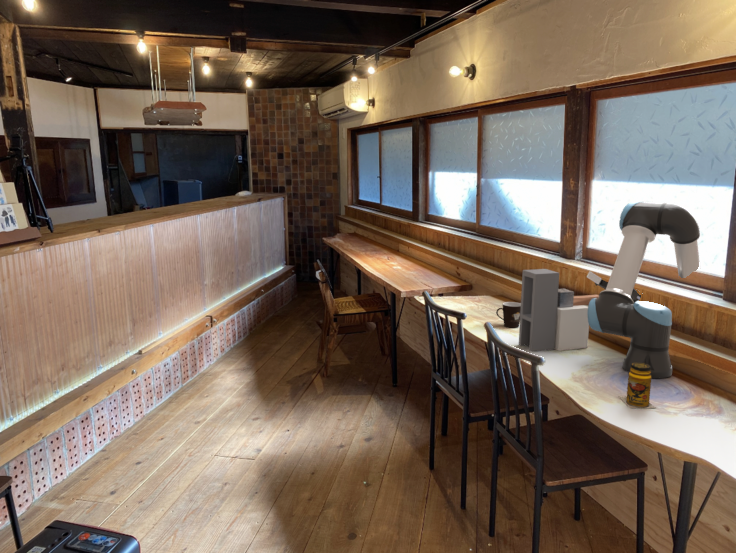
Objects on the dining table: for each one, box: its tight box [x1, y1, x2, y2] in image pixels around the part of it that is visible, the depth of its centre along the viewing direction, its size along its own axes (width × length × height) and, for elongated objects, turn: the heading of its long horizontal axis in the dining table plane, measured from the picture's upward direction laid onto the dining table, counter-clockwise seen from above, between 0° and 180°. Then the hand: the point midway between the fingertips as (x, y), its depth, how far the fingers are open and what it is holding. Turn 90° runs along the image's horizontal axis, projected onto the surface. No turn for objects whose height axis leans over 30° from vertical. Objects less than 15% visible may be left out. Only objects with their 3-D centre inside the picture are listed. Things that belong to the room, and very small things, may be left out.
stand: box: [518, 268, 560, 353], centre depth 210 cm, size 9×10×30 cm
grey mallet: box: [557, 288, 599, 308], centre depth 213 cm, size 6×20×6 cm, turn 106°
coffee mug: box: [495, 301, 521, 329], centre depth 241 cm, size 12×9×10 cm
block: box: [554, 305, 590, 351], centre depth 214 cm, size 12×13×16 cm
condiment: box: [618, 363, 657, 409], centre depth 160 cm, size 7×8×12 cm
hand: (599, 277), depth 215 cm, fingers open, 13 cm apart
